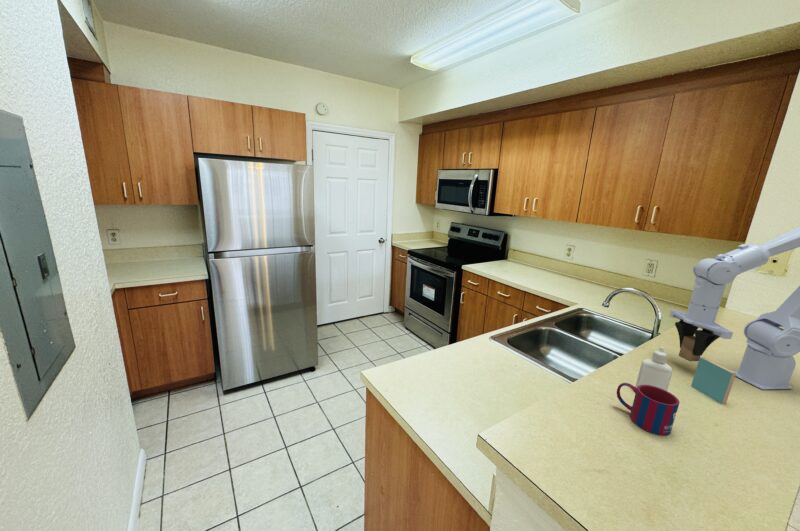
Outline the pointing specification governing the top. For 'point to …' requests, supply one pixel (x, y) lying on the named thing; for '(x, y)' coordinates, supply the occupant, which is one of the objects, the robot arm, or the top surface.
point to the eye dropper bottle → (655, 371)
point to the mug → (652, 408)
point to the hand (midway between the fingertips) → (690, 351)
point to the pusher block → (688, 349)
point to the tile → (713, 380)
